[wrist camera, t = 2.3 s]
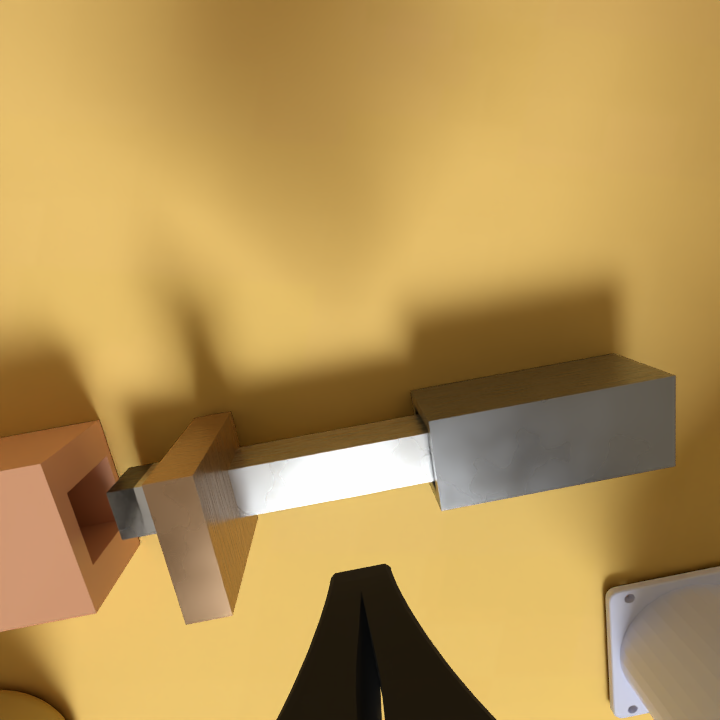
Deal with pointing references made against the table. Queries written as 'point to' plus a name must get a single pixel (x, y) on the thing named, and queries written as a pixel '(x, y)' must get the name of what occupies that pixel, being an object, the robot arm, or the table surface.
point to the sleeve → (547, 428)
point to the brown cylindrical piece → (25, 707)
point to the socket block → (57, 525)
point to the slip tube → (252, 494)
